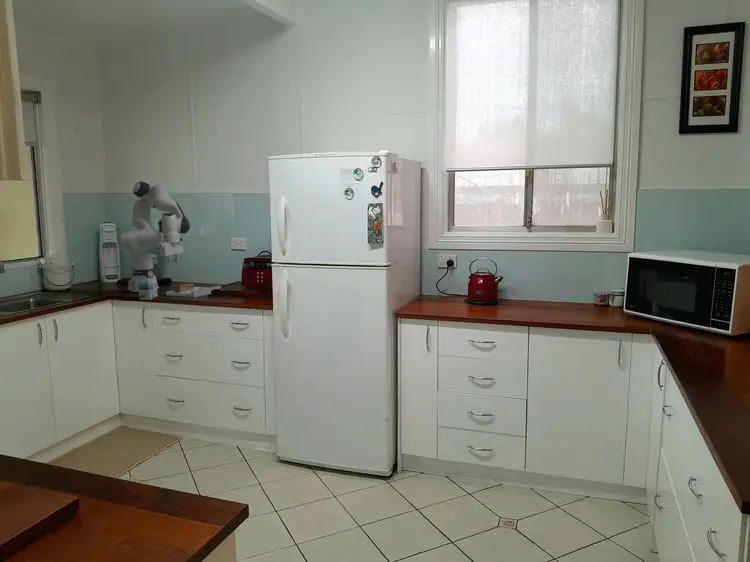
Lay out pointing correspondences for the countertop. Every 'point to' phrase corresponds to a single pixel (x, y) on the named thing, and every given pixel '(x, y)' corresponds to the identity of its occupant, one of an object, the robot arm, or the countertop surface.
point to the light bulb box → (147, 289)
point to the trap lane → (194, 292)
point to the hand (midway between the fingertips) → (173, 262)
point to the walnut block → (184, 287)
